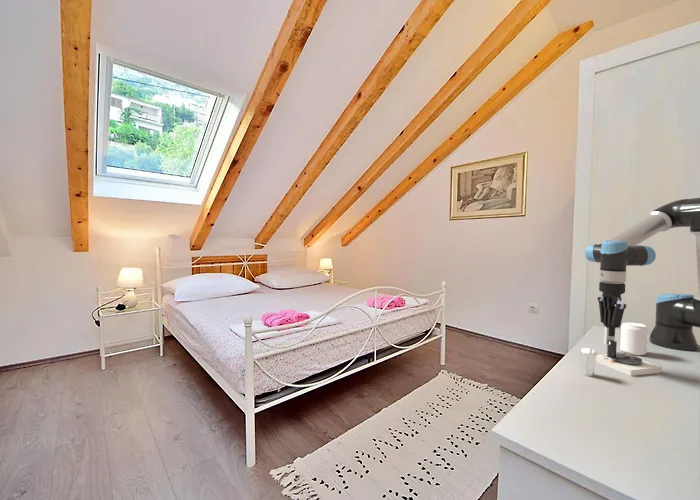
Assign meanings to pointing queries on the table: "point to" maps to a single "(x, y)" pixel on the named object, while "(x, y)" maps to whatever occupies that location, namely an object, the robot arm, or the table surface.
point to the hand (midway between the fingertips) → (609, 343)
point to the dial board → (629, 366)
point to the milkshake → (588, 361)
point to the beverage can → (633, 338)
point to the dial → (621, 355)
